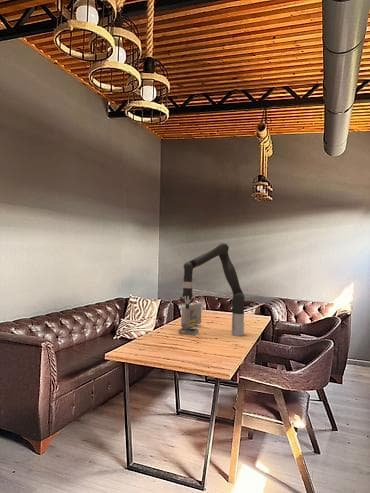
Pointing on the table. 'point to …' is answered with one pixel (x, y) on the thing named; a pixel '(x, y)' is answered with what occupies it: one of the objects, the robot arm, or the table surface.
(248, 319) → the table surface
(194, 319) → the network device
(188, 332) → the rack
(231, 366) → the table surface
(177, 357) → the table surface
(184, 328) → the rectangular block
